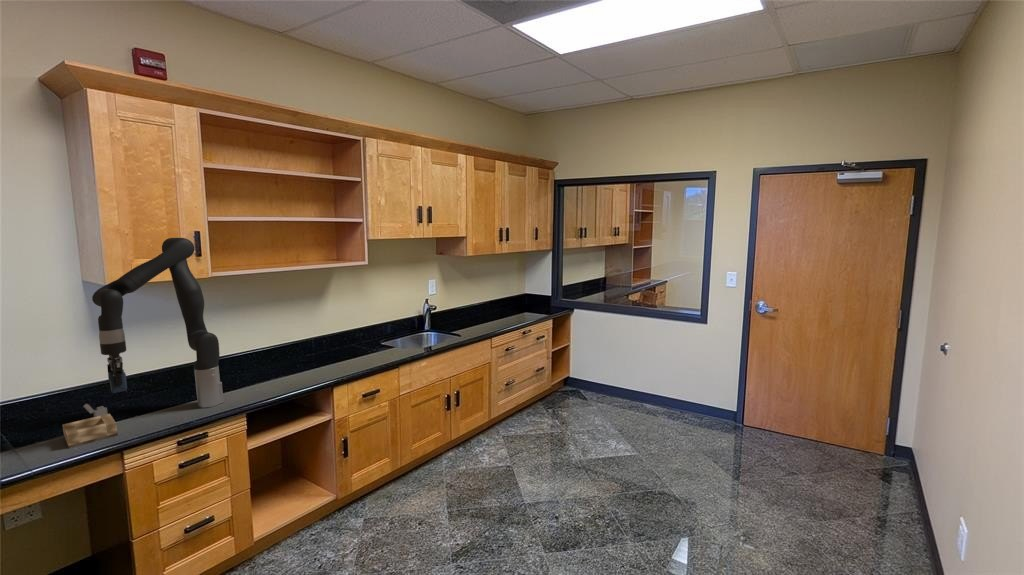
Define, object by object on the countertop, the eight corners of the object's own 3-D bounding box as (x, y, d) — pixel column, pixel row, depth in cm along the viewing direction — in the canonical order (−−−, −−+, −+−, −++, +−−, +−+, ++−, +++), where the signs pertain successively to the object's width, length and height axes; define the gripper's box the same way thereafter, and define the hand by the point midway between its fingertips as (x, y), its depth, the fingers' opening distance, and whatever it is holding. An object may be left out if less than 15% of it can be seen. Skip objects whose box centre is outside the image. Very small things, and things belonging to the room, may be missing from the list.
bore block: (111, 425, 193) (109, 413, 192) (117, 435, 184) (116, 423, 183) (64, 437, 183) (62, 424, 182) (68, 448, 174) (66, 435, 173)
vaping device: (109, 392, 183) (106, 362, 182) (126, 389, 187) (123, 359, 186) (110, 393, 181) (107, 362, 180) (128, 390, 185) (124, 360, 184)
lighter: (106, 416, 202) (103, 398, 201) (108, 417, 201) (105, 399, 200) (85, 423, 196) (82, 404, 194) (87, 423, 195) (84, 405, 194)
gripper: (129, 341, 180) (134, 385, 182) (121, 336, 189) (126, 378, 192) (103, 345, 175) (108, 391, 177) (96, 339, 184) (101, 383, 186)
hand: (117, 384), depth 184 cm, fingers closed on vaping device, 2 cm apart
